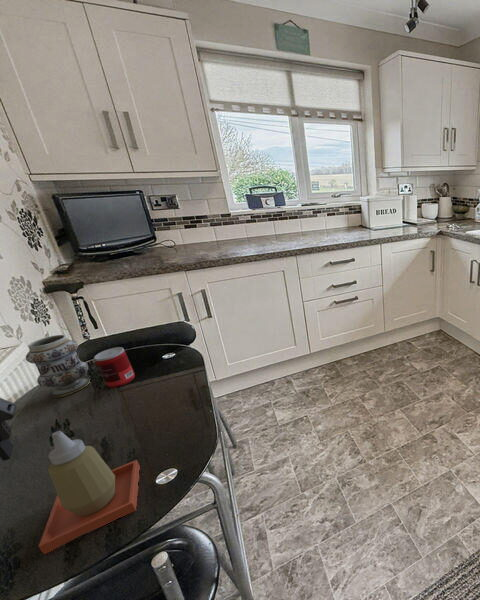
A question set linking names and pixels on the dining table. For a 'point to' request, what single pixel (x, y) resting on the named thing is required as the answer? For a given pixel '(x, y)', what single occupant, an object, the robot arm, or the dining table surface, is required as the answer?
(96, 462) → the squeeze bottle
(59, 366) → the apothecary jar
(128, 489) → the tray
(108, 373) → the canned food
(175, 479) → the dining table surface
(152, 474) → the dining table surface
